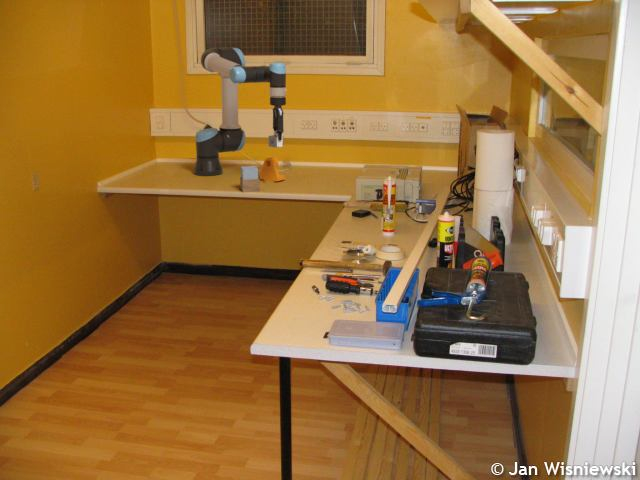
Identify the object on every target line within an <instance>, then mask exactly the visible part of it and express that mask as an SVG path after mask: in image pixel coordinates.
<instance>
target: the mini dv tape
mask: <svg viewBox="0 0 640 480" xmlns="http://www.w3.org/2000/svg"><path fill="white" fill-rule="evenodd" d="M414 205H415V208H414V214H415V213H419V214H418V215H421V214H420V213H427V214H426V215H430V214H431V213H432V212H433V211H434V210H435V208H436V207H437V199H425V198H416V199H415V204H414ZM436 209H437V208H436Z"/></svg>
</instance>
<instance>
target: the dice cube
mask: <svg viewBox="0 0 640 480" xmlns="http://www.w3.org/2000/svg"><path fill="white" fill-rule="evenodd" d="M268 147H269V148H270V147H271V148H276V149H277V148H278V147H277V135H274V134H272V135H268Z"/></svg>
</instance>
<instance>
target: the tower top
mask: <svg viewBox="0 0 640 480" xmlns="http://www.w3.org/2000/svg"><path fill="white" fill-rule="evenodd" d="M258 171H259V169H258V167H257V166H256V165H249V166H248V165H247V166H246V165H245V166H240V177H242V179H243V180H248V179H258V178H259V172H258Z"/></svg>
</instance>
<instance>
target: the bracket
mask: <svg viewBox="0 0 640 480" xmlns="http://www.w3.org/2000/svg"><path fill="white" fill-rule="evenodd" d="M278 166H279V160H278V158H277V157H276V156H272V157H268V158H265V159H264V162H263V165H262V168H261V171H260V175H259V177H260V178H259V179H260V180H264V182H268V183H276V182H280V181H284V180H286V176H285V174H280V173H279V170H278Z"/></svg>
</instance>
